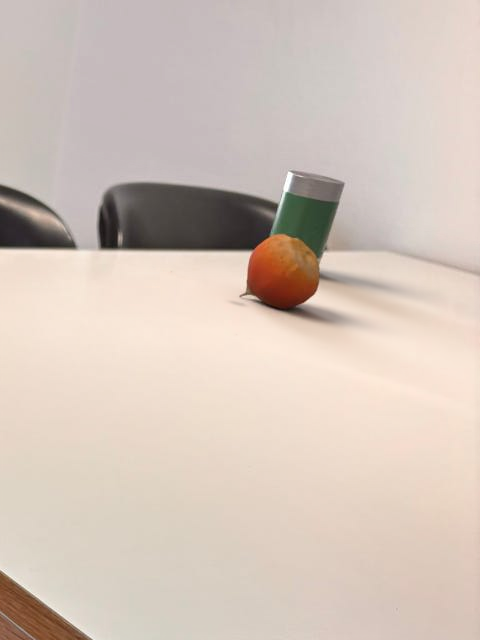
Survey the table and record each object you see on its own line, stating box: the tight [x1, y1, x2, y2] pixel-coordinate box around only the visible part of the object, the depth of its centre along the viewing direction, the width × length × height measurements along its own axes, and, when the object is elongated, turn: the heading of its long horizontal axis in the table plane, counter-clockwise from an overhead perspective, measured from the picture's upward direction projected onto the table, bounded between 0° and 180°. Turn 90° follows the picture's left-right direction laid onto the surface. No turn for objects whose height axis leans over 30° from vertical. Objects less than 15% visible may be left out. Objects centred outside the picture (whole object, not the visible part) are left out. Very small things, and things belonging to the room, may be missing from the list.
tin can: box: [268, 170, 346, 265], centre depth 135 cm, size 7×7×11 cm
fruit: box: [239, 234, 320, 310], centre depth 115 cm, size 8×8×8 cm
